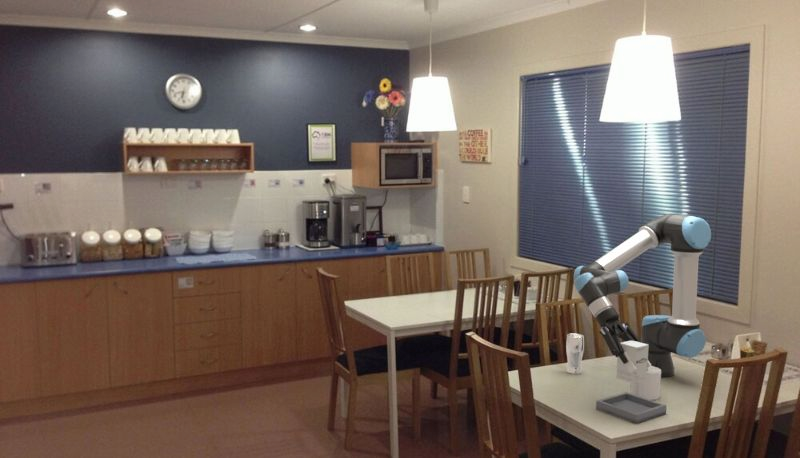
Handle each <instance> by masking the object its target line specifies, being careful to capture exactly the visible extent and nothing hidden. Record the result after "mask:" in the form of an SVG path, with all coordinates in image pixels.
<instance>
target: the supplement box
mask: <svg viewBox="0 0 800 458" xmlns="http://www.w3.org/2000/svg"><path fill="white" fill-rule="evenodd" d="M620 342H621V343H620V344H621V346H622V348H623V351H624V352H626V353H627V354H628V356H629V357H630V359H631V361H632V362H633V364H634V365H635V367H636V368H637V369H636V370H635V371H633V372H632V373H630V372H629V371H628V369H627V367H626V366H625V364H624V363H623V362H622V360H621V359H620V357H616V359H617V361H616V375H615V379H617V380H621V381H623V382H626V383H629V384H630V383H632V384H634V383H637V382H641V381H645V380H646V378H647V363H648V348H649V345H648V344H644V343H641V342H636V341H626V342H625V341H620ZM624 352H623V353H624Z"/></svg>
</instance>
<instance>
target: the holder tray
mask: <svg viewBox="0 0 800 458" xmlns="http://www.w3.org/2000/svg"><path fill="white" fill-rule="evenodd" d="M595 402H596V403H595V410H597V411H600V412H603V413H606V414H608V415H611V416H613V417H616V418H619V419H622V420H624V421H627V422H630V423H632V424H636V425H638V424H640V423H644V422H646V421H649V420H653V419H656V418H658V417H660V416H661V417H662V416H664V415H667V404H665V403H664V404H663V403H661V402H658V401H655V400H649V399H646V398H643V397H640V396H637V395H634V394H631V393H629V392H627V391H625V392H621V393H617V394H615V395H612V396H608V397H604V398H601V399H598V400H596V401H595Z"/></svg>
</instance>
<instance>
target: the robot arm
mask: <svg viewBox="0 0 800 458" xmlns="http://www.w3.org/2000/svg"><path fill="white" fill-rule="evenodd" d="M711 239H712V230H711V227H710V224H709V223H708V222H707V221H706V220H705V219H703V218H702V217H698V216H697V217H696V216H695V215H685V214H684V215H683V214H676V213H668V214H663V215H660V216H657V217H656V218H653V219H652V220H650V221H648V222H646V223H645V224H643V225H642V226H641V227H639V229H638V232H636V233H634V234H633V235H632V236H630V237H629V238H627V239H625V241H624V240H623V241H622V243H620V244H618V245H617V246H616V247H614V248H612V249H611V250H609V251H608V252H607V253H605V254H604V255H602V256H601V257H599V258H598V259H596V260H594V262H592V263H590V264H589V265H579V266H577V267H576V268H575V270H574V273H573V279H574V282H573V284H574V287H575V289H576V291H577V294H578V295H579V296H580V297H581V299H582V301H584V304H585V305H586V306H587V308H588V309H589V310H590V313H591V314H592V316H593V318H595V321H596V322H597V324H598V325H599V327H601V329H600V330H599V331H598V332H599V333H600V335H601V336H602V338H603V339H604V341H605V343H606V345H607V347H608V348H609V351H610V353H611V354H612V356H614V357H615V358H617V357H620V359H621V360H622V362H623V363H624V364H625V366H626V367H627V369H628V371H629V372H630V373H632V372H633V371H635V370H636V369H637V368H636V367H635V365H634V364H633V362H632V361H631V359H630V357H629V356H628V354H627V353H626V352H624V351H623V348H622V346H621V344H620V343H621V342H622V341H621V339H622V340H623V342H626V341H636V342H641V343H644V344H648V345H649V348H648V363H647V368H648V367H650V366H654V367H657V368H659V369H661V378H668V377H673V376H674V375H675V372H676V371H675V365H674V362H673V357H672V354H674V355H677V356H679V357H681V358H683V357H684V358H688V359H692V358H694V357H697V356H699V354H700V353H702V352H703V350H704V349H705V347H706V346H705V345H706V342H707V336H706V334H705V332H704V331H703V330H701V329H700V328H701V326H700V325H701V323H700V321H699V319H697V303H698V302H697V298H698V296H697V295H698V280H699V279H698V278H699V277H698V275H699V256H701V255H702V254H703V253H704V249H705V248H706V247H707V246H708V245H709V243H710V242H711ZM662 244H663V245H664V244H669V245H670V252H671V253H672V254H673V256H674V261H673V285H672V303H671V304H672V305H671V306H672V309H671V315H666V314H664V315H663V314H654V315H653V314H652V315H646V316H644V317H643V318H642V321H641V322H642V323H641V327H640V328H641V330H640V331H641V333H640V335H641V336H640V338H639V337H638V335H636V333H635V332H634V331H633V328H631V326H630V324H629V323H628V322H625V323H622V322H621V321H620V318H619V317H620V314H619V313H618V312H617V310H616V309H615V307H613V306H614V305H613V303H612V302H611V301H610V300H609V298H608V297H607V296H610V295H613V294H616V293H620V292H622V291H624V290H626V289H627V288H628V287H629V286H630V285H629V284H630V280H629V276H628V274H627V273H626V272H625V271H624V270H621V268H623V267H624V266H626V265H627V264H628V263H630V262H632V261H633V260H635V259H636V258H637V257H640V255H641V254H643V253H646V251H647V250H649V249H656V248H657V247H658V246H660V245H662ZM623 352H624V353H623Z"/></svg>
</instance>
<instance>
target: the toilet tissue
mask: <svg viewBox="0 0 800 458" xmlns="http://www.w3.org/2000/svg"><path fill="white" fill-rule="evenodd" d="M661 381H662V377H661V369H659V368H657V367H654V366H650V367H648V368H647V378H646V380H645V381H641V382H637V383H634V384H632V383H629V389H628V390H629V392H628V393H631V394H634V395H637V396H640V397H643V398H646V399H649V400H652V401H655V400H659V399H660V396H661V384H662V382H661Z"/></svg>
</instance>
